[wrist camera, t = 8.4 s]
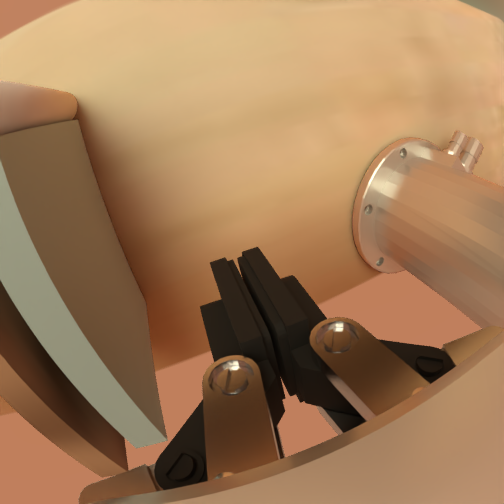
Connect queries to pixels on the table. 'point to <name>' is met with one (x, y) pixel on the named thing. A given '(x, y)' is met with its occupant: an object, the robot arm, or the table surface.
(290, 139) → the table surface
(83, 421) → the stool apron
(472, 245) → the robot arm
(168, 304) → the table surface
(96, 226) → the grey panel
